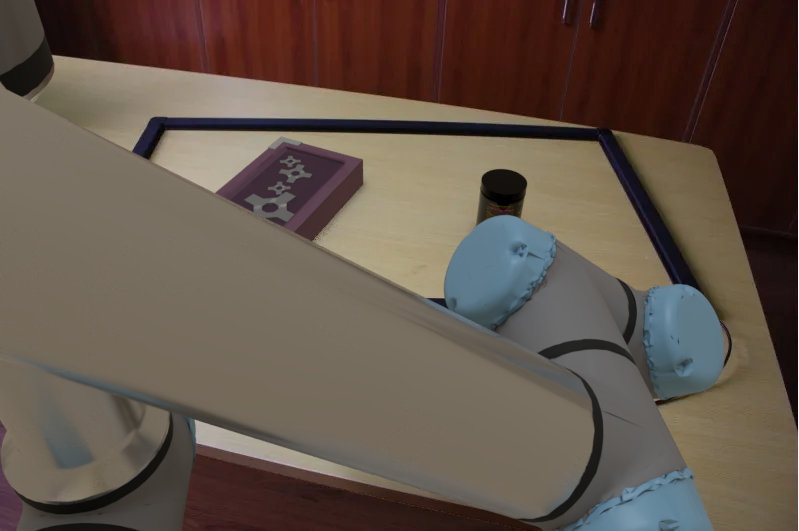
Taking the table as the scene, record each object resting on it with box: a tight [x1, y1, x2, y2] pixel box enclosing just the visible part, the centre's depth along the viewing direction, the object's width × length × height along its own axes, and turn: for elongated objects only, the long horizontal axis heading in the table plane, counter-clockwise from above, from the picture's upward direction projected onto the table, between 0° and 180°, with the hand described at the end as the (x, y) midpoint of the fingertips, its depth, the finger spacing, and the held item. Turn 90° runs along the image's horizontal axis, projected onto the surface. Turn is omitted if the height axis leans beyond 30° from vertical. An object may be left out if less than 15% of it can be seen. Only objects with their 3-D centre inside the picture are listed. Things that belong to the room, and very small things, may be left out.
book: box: [214, 136, 364, 242], centre depth 103 cm, size 25×16×5 cm, turn 156°
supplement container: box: [475, 168, 528, 227], centre depth 97 cm, size 7×7×10 cm
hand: (387, 390), depth 71 cm, fingers open, 13 cm apart
